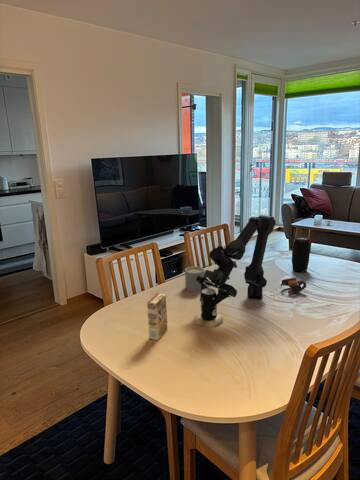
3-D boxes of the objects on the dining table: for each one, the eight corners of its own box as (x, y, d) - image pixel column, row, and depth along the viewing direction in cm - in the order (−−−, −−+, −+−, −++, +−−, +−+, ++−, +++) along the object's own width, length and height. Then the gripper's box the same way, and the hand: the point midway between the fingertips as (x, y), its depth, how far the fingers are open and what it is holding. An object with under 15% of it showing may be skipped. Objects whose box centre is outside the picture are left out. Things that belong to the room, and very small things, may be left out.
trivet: (225, 315, 154) (225, 313, 153) (219, 328, 143) (219, 327, 142) (198, 312, 157) (198, 310, 157) (190, 324, 146) (190, 323, 146)
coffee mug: (195, 293, 177) (195, 274, 174) (181, 288, 184) (181, 269, 181) (213, 286, 186) (213, 267, 183) (199, 281, 193) (199, 263, 190)
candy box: (158, 340, 135) (157, 303, 131) (148, 338, 136) (146, 301, 132) (167, 329, 143) (166, 294, 139) (158, 328, 144) (156, 292, 140)
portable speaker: (288, 268, 209) (290, 236, 204) (303, 267, 210) (306, 235, 205) (295, 273, 201) (297, 239, 196) (311, 272, 202) (313, 239, 197)
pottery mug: (282, 296, 172) (279, 279, 175) (283, 297, 181) (280, 281, 183) (308, 292, 169) (304, 275, 171) (308, 293, 178) (304, 277, 180)
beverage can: (209, 323, 145) (209, 295, 142) (197, 318, 150) (197, 291, 146) (219, 317, 150) (219, 290, 147) (207, 312, 154) (207, 286, 151)
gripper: (198, 257, 153) (180, 288, 148) (233, 267, 140) (214, 302, 135) (210, 269, 160) (193, 300, 156) (244, 280, 147) (227, 313, 143)
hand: (206, 303), depth 147 cm, fingers closed on beverage can, 6 cm apart
